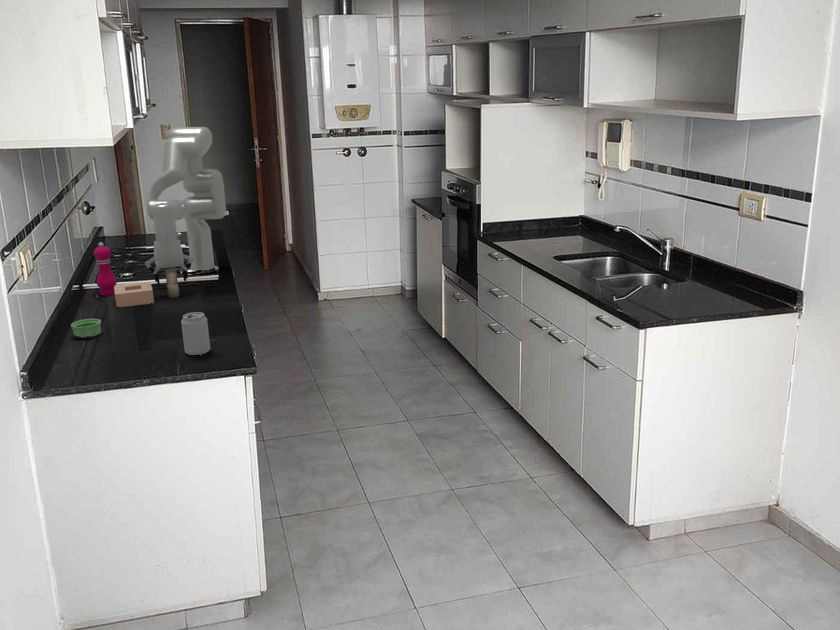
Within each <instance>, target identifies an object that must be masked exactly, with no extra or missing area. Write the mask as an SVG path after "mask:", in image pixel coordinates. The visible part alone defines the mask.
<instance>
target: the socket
mask: <svg viewBox="0 0 840 630" xmlns="http://www.w3.org/2000/svg"><path fill="white" fill-rule="evenodd" d="M114 291H115V294H114V299H115V305H116V308H117V307H119V308H125V307H126V308H128V307H134V306H142V305H143V306H144V305H151V303H152V304H155V299H154V298H155V297H154V291H153V286H152V283H151V281H146V282H137V283H136V282H135V283H130V284H128V283H127V284H121V285H119V284H118V285H115V286H114Z"/></svg>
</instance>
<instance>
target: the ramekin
mask: <svg viewBox="0 0 840 630" xmlns="http://www.w3.org/2000/svg"><path fill="white" fill-rule="evenodd" d="M101 325H102V320H101V319H98V318H87V319H86V318H85V319H79V320H77V321H74V322H72V323H71V325H70V326H71V328H72V332H73V336H74V335H75V336H80V337H86V336H95V335H98V334H100V333H101V334H102V326H101ZM101 334H100V335H101ZM75 336H74V337H75Z"/></svg>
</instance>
